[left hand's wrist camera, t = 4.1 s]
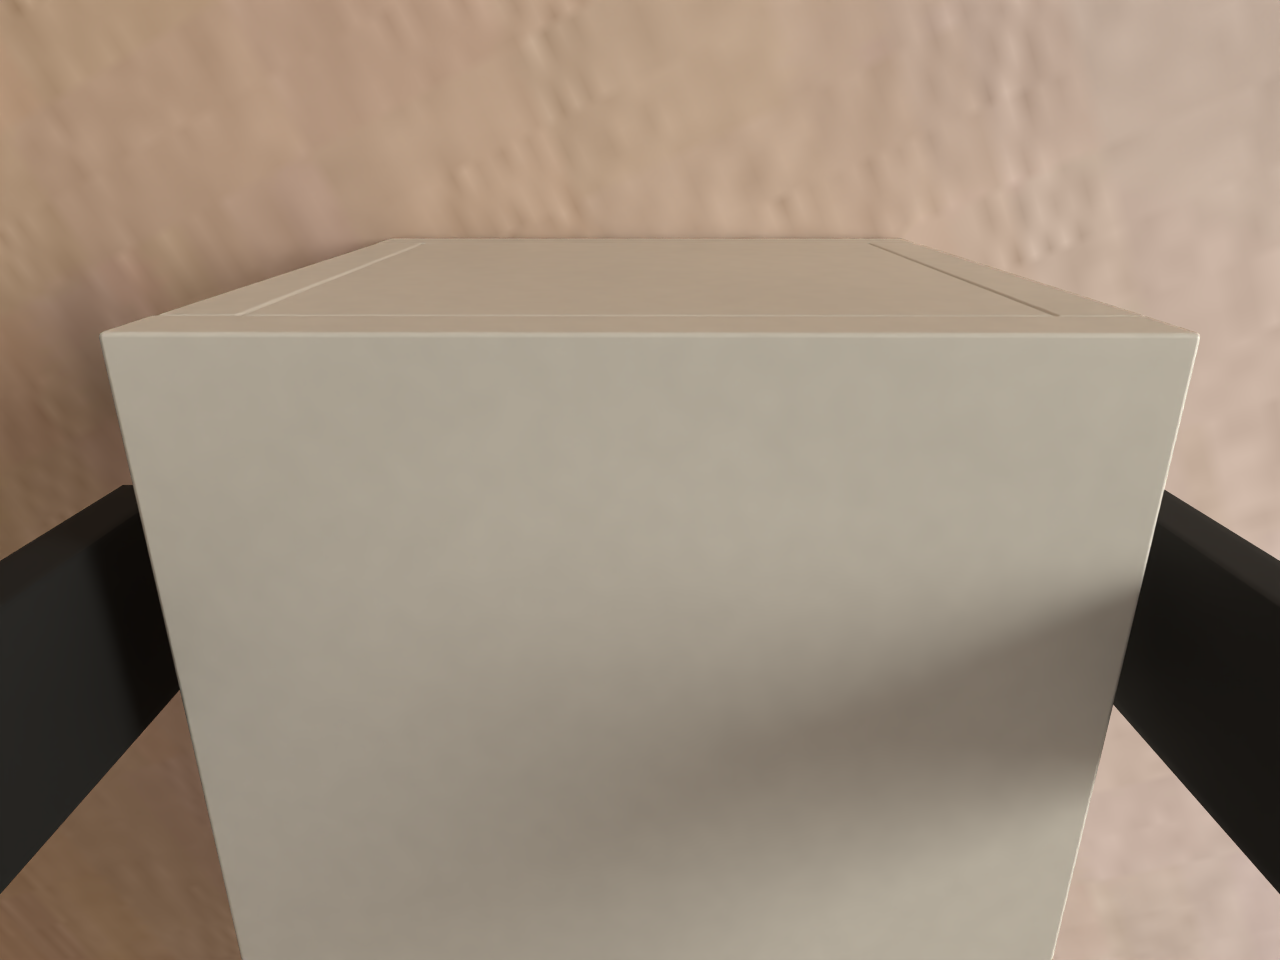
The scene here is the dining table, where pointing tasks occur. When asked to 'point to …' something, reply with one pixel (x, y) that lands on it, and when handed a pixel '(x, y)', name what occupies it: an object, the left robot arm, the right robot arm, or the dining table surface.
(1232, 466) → the dining table surface
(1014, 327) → the cabinet
